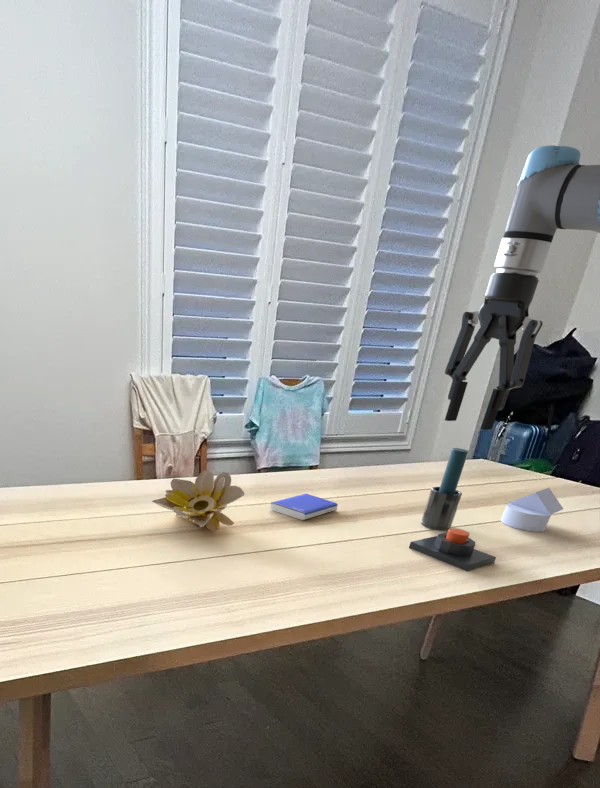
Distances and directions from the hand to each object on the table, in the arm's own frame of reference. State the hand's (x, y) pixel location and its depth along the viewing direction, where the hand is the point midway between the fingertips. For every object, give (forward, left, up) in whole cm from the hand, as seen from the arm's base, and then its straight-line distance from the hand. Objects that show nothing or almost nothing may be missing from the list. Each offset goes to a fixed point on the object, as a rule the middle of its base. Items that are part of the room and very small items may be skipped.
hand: (467, 424), depth 117 cm
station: (-12, +13, -19) cm, 26 cm away
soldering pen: (0, 0, -18) cm, 18 cm away
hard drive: (+18, +20, -19) cm, 33 cm away
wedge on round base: (-7, -24, -19) cm, 32 cm away
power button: (-12, +13, -16) cm, 24 cm away
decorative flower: (+20, +47, -19) cm, 55 cm away
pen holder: (0, 0, -19) cm, 19 cm away
